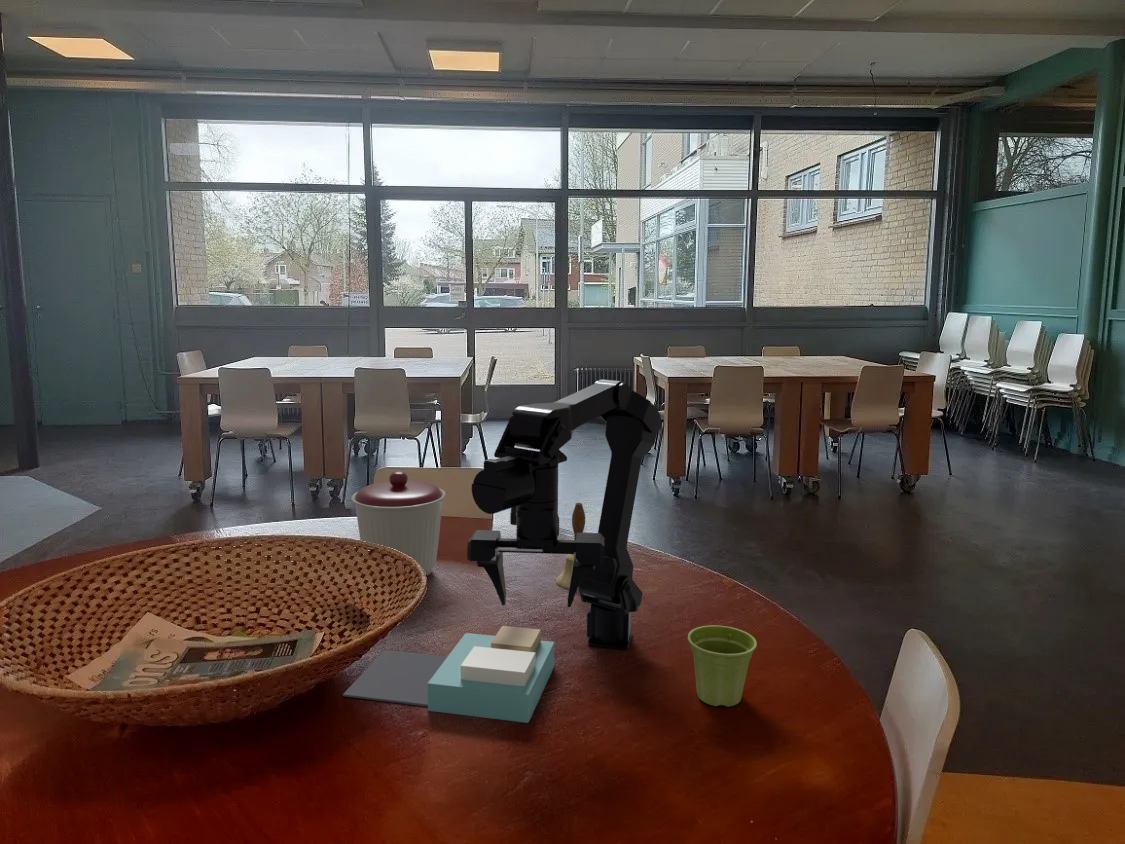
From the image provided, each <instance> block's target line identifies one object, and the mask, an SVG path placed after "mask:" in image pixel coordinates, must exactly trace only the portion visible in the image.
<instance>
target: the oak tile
mask: <svg viewBox="0 0 1125 844" xmlns="http://www.w3.org/2000/svg"><path fill="white" fill-rule="evenodd" d="M541 631H542V629H538V628H530V627H529V628H528V627H517V626H509V625H508V626H507V625H502V626H501V628H499V630H498V632H497V633H496V634H495V635H494V636H495V637H494V639H493V640H492V642H491V648H497V649H506V650H516V651H526V652H536V650H537V648H538V646H539V644H540V642H541V641H542V639H541V638H542V635H541V634H542V632H541Z"/></svg>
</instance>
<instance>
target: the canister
mask: <svg viewBox="0 0 1125 844" xmlns="http://www.w3.org/2000/svg"><path fill="white" fill-rule="evenodd" d="M350 498H351V502H352V503H353V504H354V506H355V512H356V513H355V515H356V520H357V526H358V533H359V534H358V535H359V539H360V540H359V541H361V540H362V541H366V542H370V543H375V544H379V545H383V546H386V547H390V548H393V549H396V550H398V551H400V552H402V553H405V554H407V555H409V556H410V557H412V558H413V559H415V560H416V561H417V562H418V563H419V564H420V565H421V567H422V568H423V569H424V571H425V572H426V575H427V576H426V577H428V576H429V575H430V574H431V573H432V572H433V571H434V569H435V565H436V562H437V556H438V550H439V549H438V547H439V541H440V540H439V539H440V529H441V518H442V507H443V500H444V499H445V498H446V491H445V490H443V489H442V488H440V487H438V486H436V484H433V483H430V482H426V481H421V480H411V479H410V480H409V479H408V475H407V473H405V472H404V471H398V470H397V471H394V472H392V473H391V474H390V475H389V477H388V481H381V482H376V483H372V484H369V485H366V486H364V487H362V488H361V489H359V490H358V491H356V492H354V493H353V494H352V495H351V497H350Z"/></svg>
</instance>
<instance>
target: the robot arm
mask: <svg viewBox="0 0 1125 844" xmlns="http://www.w3.org/2000/svg"><path fill="white" fill-rule="evenodd" d="M661 417H662V416H661V414H660V412H659V411H658V409H657V407H656V406H655V405H654V404H653V403H652V402H651V400H649V399H648V398H647V397H645V396H643V395H641V394H639V393H638V392H636V391H635V390H633V389H632V388H631V386H630V385H629V384H628V383H626V382H624V381H623V380H616V379H615V380H613V379H599V380H596V381H595V382H594V383H593V384H591V385H589V386H587V387H585V388H583V389H580V390H578V391H575V392H574V393H572V394H569V395H568V396H565V397H563V398H561V399H558V400H557V401H553V402H544V403H542V402H541V403H540V402H539V403H531V404H524V405H520V406H517V407H515V408H514V410H513V411H512V412H511V416H510V418H509V420H508V422H507V425H506V427H505V429H504V431H503V433H502V436H501V437H500V440H499V442H498V444H497V446H496V448H495V451H494V454H493V455H494V457H495V459H494V458H493V459H492V458H488V459H485V460H484V461H483V469H482V470H480V471H479V472H477V474H476V475H475V477H474V478H473V482H472V484H471V497H472V499H473V501H474V503H475V505H476V506H477V507H478V509H479V510H481V512H484V513H485V514H488V515H494V514H497V513H500V512H503V511H506V510H509V509H510V515H509V516H510V517H509V518H510V519H509V522H510V523H509V524H510V525H511V526H516V529H515V531H516V537H515V538H503V537H502V536H501V535H502V533H501V530H493V529H491V530H488V529H487V530H485V529H476V530H475V531H474V532H473V533H472V535H471V537H470V538H469V540H468V542H467V548H466V549H467V550H466V553H467V554H466V560H468V561H470V562H476V566H477V567H478V568H483V569H484V570H485V573H486V574H487V575H488V577H489V578H490V581H491V583H492V584H493V586H494V589H495V591H496V594H497V596H498V599H499V601H500V604H501V605H502V606H506V603H507V589H506V580H505V571H504V553H511V554H512V553H513V554H514V553H516V554H517V553H519V554H520V553H521V554H551V555H555V554H557V555H568V554H574V560H573V566H572V573H571V579H570V586H569V589H568V593H567V594H568V595H567V608H571V607H572V605H573V601H574V599H575V596H576V593H577V592H578V591H579V595H580V600H581V602H582V603H586V604H590V607H589V609H588V611H587V613H586V637H587V638H588V641H587V645H588V646H590V647H597V648H598V647H599V648H609V649H619V650H628V649H629V648H630V647H629V646H630V643H631V639H632V636H633V630H632V629H631V627H632V626H631V622H632V613H636V612H638V610H639V609H638V608H639V607H640V606H641V603H642V598H643V591H642V590H641V589H640V587H639V586H638V585H637V583H636V582H635V581H634V580H633V577H634V576H633V573H634V564H633V562H632V558H631V556H630V554H629V550H628V548H627V547H628V542H629V541H628V540H629V534H630V528H631V525H632V523H631V522H632V517H633V512H634V507H635V506H634V505H635V501H636V494H637V489H638V488H637V487H638V482H639V478H640V470H641V466H642V460H643V458H644V457H645V456H646V454H647V453H648V452H649V451H650V450H651V448H653V446H654V445H655V443H656V439H657V435H658V432H659V430H660V428H661V424H662V418H661ZM597 418H600V419H601V420H602V421H603V423H604V424H605V431H604V433H605V434H604V435H605V439H606V442H607V444H608V447H609V450H610V453H611V456H610V461H609V467H608V471H607V472H608V473H607V479H606V484H605V489H604V495H603V501H602V506H601V513H600V517H599V523H598V528H597V532H583V533H577V536H576V540H574V539H558V538H559V536H560V516H559V464H562V463H564V462H565V463H566V462H567V460H568V456H567V455H566V454H565V453H564V452H562V450H560V449H561V448H562V447H564V446H565V445H567V443H568V442H570V441H571V440H572V437H573V432H574V431H575V430H577V428H580V427H582V426H583V425H586V424H588V423H589V422H592V421H593V420H595V419H597ZM578 587H579V590H577V589H578Z"/></svg>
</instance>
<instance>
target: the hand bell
mask: <svg viewBox="0 0 1125 844" xmlns="http://www.w3.org/2000/svg"><path fill="white" fill-rule="evenodd" d="M585 524H586V513H585V509H584V506H583V503H581V502H576V503H575V504H574V508H573V511H572V514H571V526H572V531H573V535H574V536H573V537H574V538H573V540H576V536H577V533H584V530H585V527H586V525H585ZM573 560H574V554H566V559H565V563H564V567H563V570H562V572H561V573H560V574H559V575H558V576H557V578H556V579H555V583H556V584H557V585H558V586H559V587H561V588H564V589H566V590H569V586H570V579H571V573H572V566H573ZM577 591H579V587H578V589H577Z"/></svg>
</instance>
